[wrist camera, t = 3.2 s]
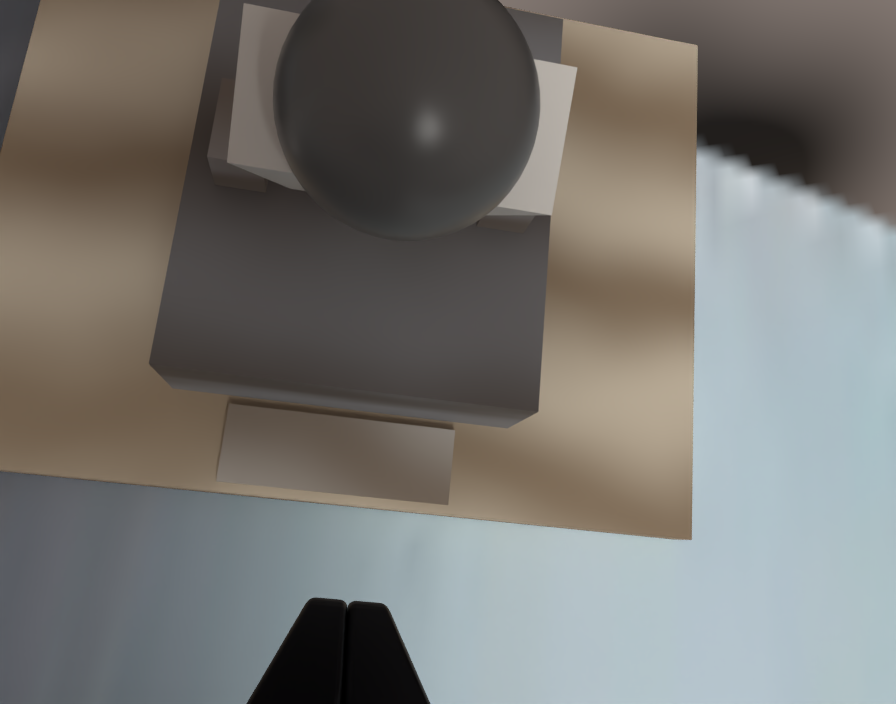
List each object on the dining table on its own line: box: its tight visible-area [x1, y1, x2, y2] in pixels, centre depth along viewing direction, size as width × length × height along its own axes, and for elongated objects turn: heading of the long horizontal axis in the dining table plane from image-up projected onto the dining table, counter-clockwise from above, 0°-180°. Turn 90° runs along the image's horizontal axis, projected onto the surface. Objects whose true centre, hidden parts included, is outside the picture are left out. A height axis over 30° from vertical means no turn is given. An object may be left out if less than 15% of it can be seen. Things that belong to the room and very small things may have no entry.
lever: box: [227, 0, 577, 241], centre depth 13 cm, size 3×4×11 cm
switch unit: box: [0, 0, 698, 540], centre depth 20 cm, size 16×20×5 cm
